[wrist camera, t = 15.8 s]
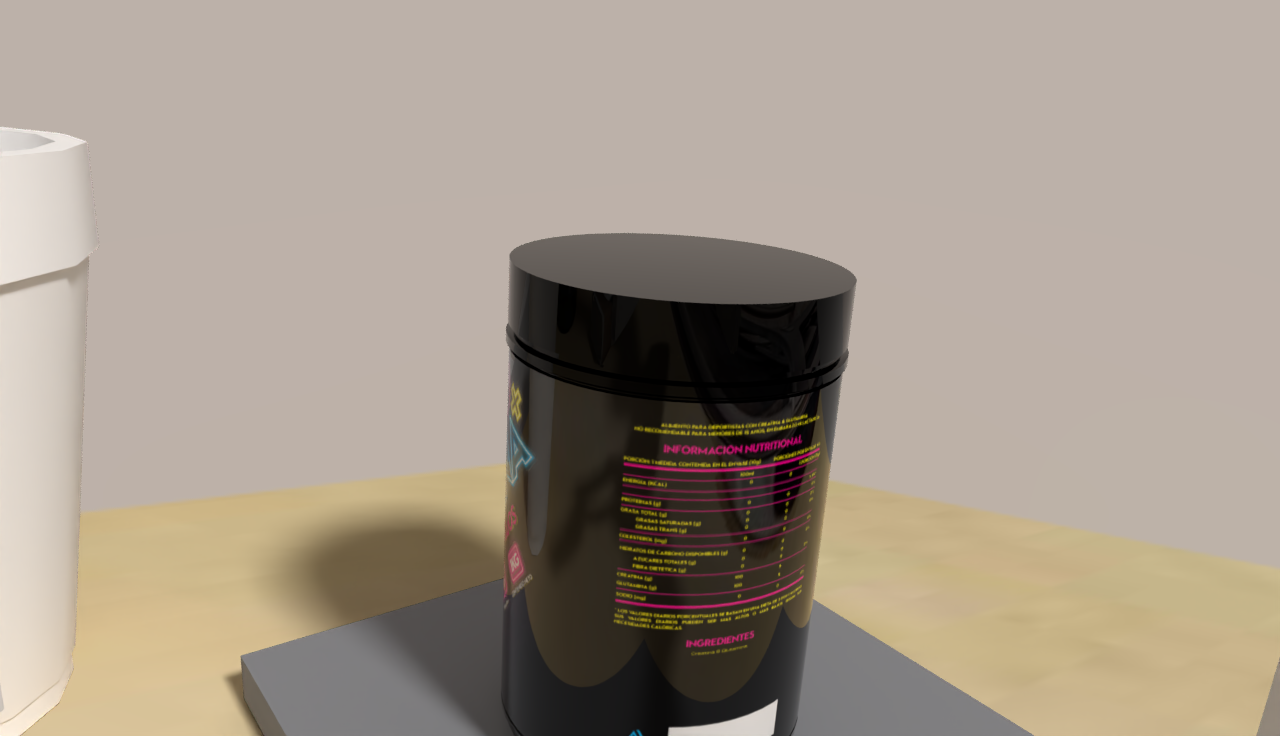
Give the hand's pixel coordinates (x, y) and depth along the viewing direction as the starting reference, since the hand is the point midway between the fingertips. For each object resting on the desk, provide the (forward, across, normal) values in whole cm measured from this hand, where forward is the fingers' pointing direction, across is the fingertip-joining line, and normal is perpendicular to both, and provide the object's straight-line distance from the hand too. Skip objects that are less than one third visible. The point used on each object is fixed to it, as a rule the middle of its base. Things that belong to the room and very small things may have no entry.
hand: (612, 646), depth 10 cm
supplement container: (+10, 0, -9) cm, 13 cm away
